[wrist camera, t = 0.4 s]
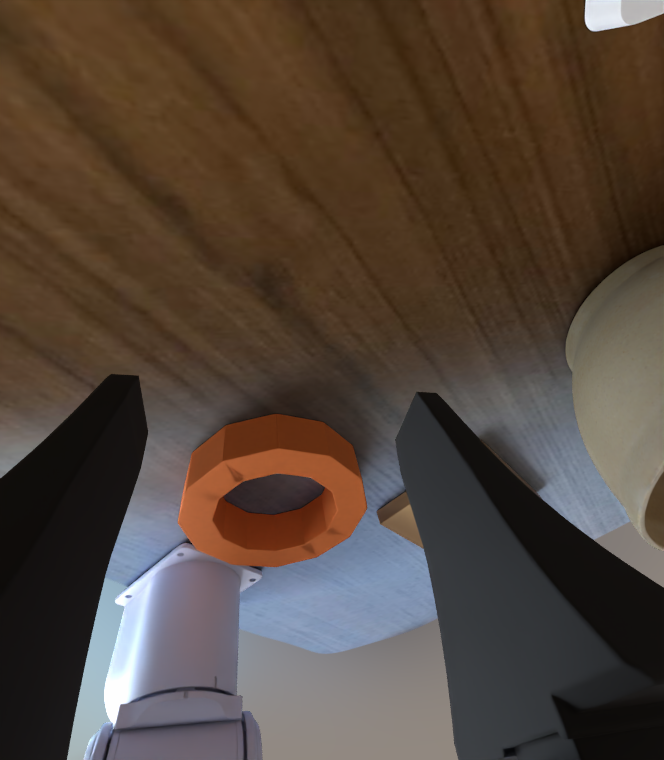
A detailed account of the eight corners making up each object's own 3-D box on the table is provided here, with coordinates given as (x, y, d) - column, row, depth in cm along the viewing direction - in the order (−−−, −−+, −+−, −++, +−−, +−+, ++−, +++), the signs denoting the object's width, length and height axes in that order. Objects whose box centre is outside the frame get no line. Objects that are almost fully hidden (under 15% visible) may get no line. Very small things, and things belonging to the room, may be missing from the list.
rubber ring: (175, 523, 29) (167, 562, 26) (204, 400, 23) (198, 436, 21) (324, 535, 33) (330, 570, 30) (382, 431, 27) (394, 465, 24)
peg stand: (442, 550, 37) (471, 621, 32) (376, 511, 32) (398, 588, 27) (537, 492, 34) (586, 561, 29) (480, 439, 29) (528, 511, 24)
